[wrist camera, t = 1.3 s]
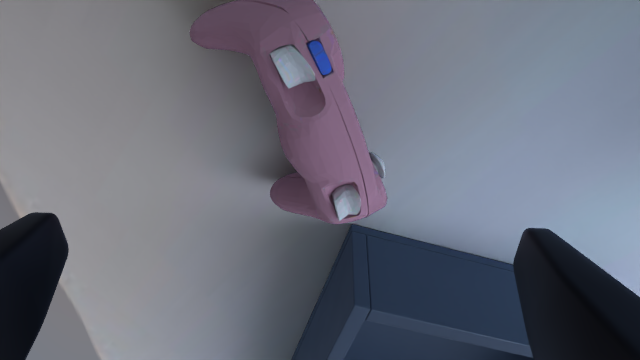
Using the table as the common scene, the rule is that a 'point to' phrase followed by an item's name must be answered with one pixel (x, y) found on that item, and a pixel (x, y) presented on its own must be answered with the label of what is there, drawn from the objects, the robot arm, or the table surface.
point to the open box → (414, 304)
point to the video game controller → (303, 105)
